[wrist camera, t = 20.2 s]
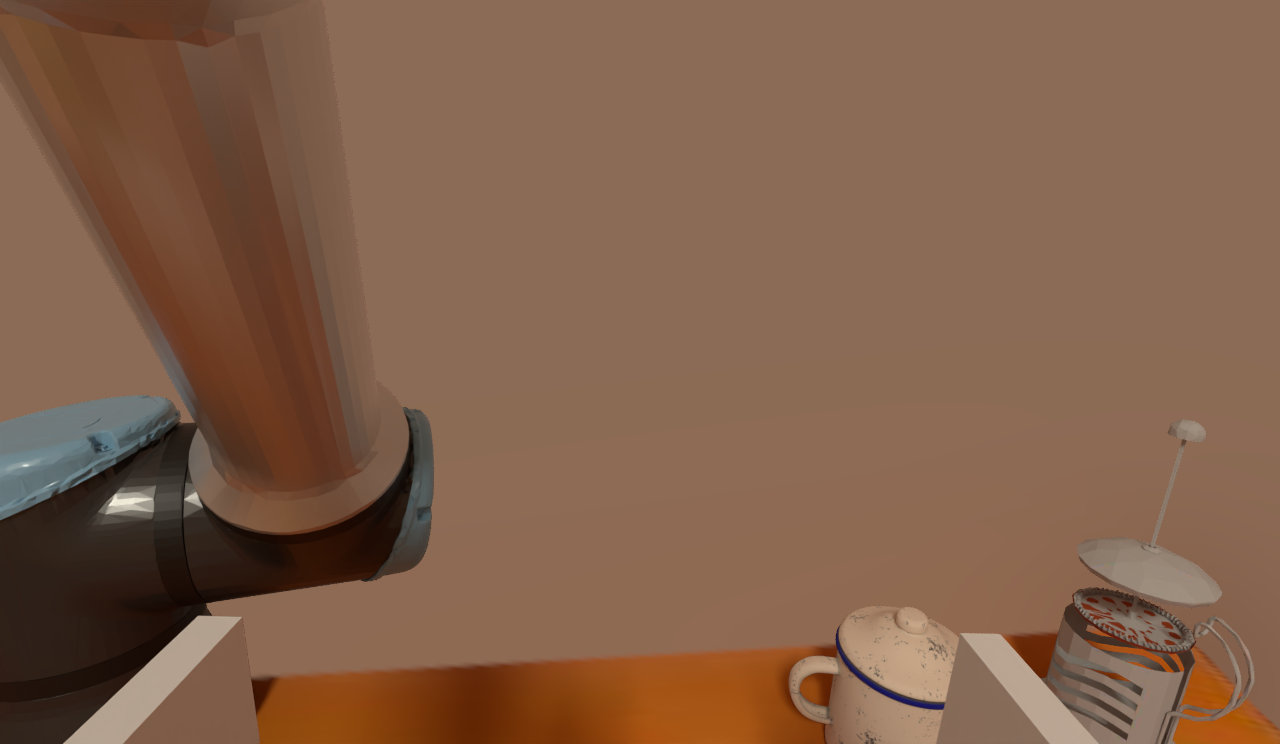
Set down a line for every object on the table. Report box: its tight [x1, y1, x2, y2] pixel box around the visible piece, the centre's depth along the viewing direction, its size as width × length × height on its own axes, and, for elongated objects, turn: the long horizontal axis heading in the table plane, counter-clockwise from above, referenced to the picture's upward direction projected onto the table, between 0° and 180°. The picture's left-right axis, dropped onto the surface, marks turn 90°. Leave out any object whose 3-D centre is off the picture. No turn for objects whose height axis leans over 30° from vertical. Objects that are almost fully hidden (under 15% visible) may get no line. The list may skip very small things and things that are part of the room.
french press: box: [1040, 419, 1254, 744], centre depth 42 cm, size 10×12×25 cm
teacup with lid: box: [789, 606, 959, 744], centre depth 41 cm, size 12×9×12 cm
